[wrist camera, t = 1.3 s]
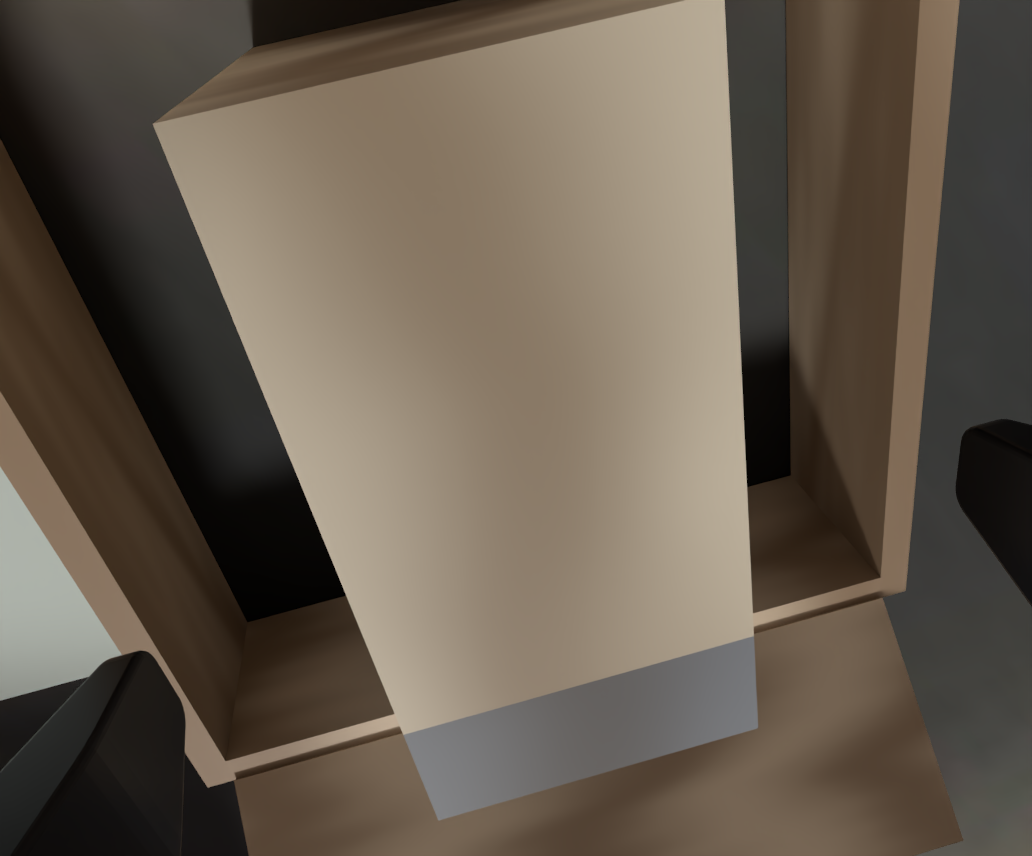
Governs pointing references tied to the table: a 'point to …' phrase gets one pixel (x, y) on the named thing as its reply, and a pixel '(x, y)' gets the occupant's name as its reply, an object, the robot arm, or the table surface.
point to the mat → (41, 609)
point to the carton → (771, 511)
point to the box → (503, 364)
